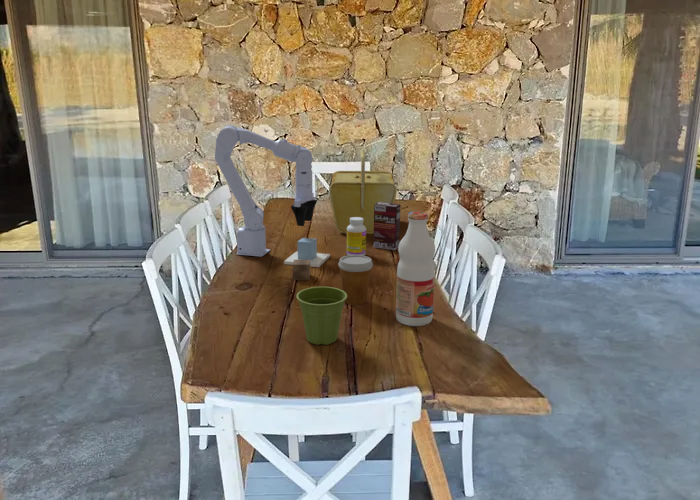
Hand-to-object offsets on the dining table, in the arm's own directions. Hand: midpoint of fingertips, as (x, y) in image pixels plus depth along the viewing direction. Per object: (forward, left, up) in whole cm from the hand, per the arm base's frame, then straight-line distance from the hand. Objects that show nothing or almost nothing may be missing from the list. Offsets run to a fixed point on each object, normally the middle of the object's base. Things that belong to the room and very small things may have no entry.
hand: (304, 223), depth 217 cm
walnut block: (+8, -26, -10) cm, 29 cm away
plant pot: (+28, -68, -11) cm, 74 cm away
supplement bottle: (+18, +2, -11) cm, 21 cm away
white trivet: (+4, -9, -10) cm, 14 cm away
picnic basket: (+10, +42, -11) cm, 44 cm away
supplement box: (+26, +14, -11) cm, 31 cm away
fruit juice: (+47, -50, -11) cm, 69 cm away
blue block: (+4, -9, -9) cm, 14 cm away
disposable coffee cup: (+29, -41, -11) cm, 51 cm away
